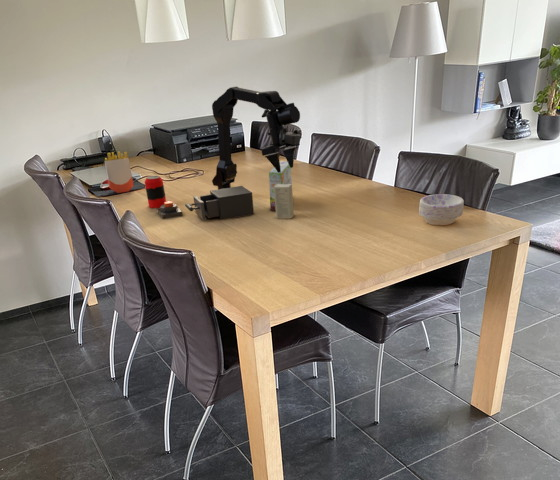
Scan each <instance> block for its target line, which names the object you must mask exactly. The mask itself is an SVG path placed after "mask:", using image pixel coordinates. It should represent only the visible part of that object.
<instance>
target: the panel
mask: <svg viewBox="0 0 560 480" xmlns="http://www.w3.org/2000/svg"><path fill="white" fill-rule="evenodd" d="M157 213H158V214H159V216H160V217H161V218H162V220H165V219H171V218H176V217H177V218H178V217H182V216H183V212H182V210H181V209H180V208H179V207H178V204H176V203H173V206H172V207H164V205H162V206H161V208H157Z"/></svg>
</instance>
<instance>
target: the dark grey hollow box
mask: <svg viewBox="0 0 560 480" xmlns="http://www.w3.org/2000/svg"><path fill="white" fill-rule="evenodd" d="M209 193H210V194H212V195H214V196H215V197H216V198H217V199H219V208H220V216H217V217H218V218H219V220H221V221H223V220H227V219H235V218H240V217H246V216H253V215H255V213H254V200H253V192H252V191H251V190H249V189H248V188H246V187H245V186H244V185H240V186H231V188H224V189H218V188H217V189H211V190H209Z"/></svg>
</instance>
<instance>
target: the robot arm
mask: <svg viewBox="0 0 560 480" xmlns="http://www.w3.org/2000/svg"><path fill="white" fill-rule="evenodd" d="M238 101H242V102H247V103H252V104H255V105H257V107H259V108H260V109H263V113H262V114H261V118H262V119H263V118H266V122H267V127H268V130H269V132H267V136H270V139H271V143H270V144H269V145H267V146H263V147H261V148H262V149H261V150H260V151H261V155H262V156H264V158H266V159H267V160H268V162H269V163H270V164H271V166H273V168H275V169H276V170H277V172H281V169H280V156H281V153H283V156H284V157H285V159H286V161H287V162H288V164H289V166H290V168H291V169H292V168H294V161H295V159H294V158H295V152H296V151H297V149H298V148H299V146H300V140H301V139H302V133H301V131H300V129H294V130H293V131H291V132H290V131H289V130H288V128H287V127H285V126H289V125H292V124H296V123H299V121H300V120H301V111H299V109H298V107H297V106H296V105H295V103H294V102H291V103H287V102H286V101H285V100H284V99H283V98H282V96H281V95H280V93H279V92H278V91H277V90H267V91H266V90H265V91H258V90H253V89H248V88H243V87H239V86H231V87H229V88H227V89H226V90H225V91H224V93H223V94H221V95H219V97H218V98H217V99H215V100H214V101H213V102H212V104H211V110H212V116H213V118H214V120H215V121H216V123H217V138H218V154H219V155H218V156H219V160H218V162H217V165H216V169H215V170H216V171H215V174H214V175H215V176H214V177H213V178H212V180H211V183H212V185H213V186H215V187H217V190H218V189H224V188H231V187H232V185H231V184H232V183H235V181H236V177H237V174H238V169H237V168H238V165H237V163H234V161H233V159H232V141H231V121H232V118H233V117H234V109H235V106H237V104H238ZM281 150H282V152H281Z"/></svg>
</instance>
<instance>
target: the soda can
mask: <svg viewBox="0 0 560 480" xmlns="http://www.w3.org/2000/svg"><path fill="white" fill-rule="evenodd" d="M144 186H145V192H146V197H147V203H148V207H149V208H150V209H159V208H161V206H162V205H164V202H167V198H166V193H165V185H164V181H163V179H162V177H161V176H159V175H150V176H147V177H146V178H145V180H144Z"/></svg>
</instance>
